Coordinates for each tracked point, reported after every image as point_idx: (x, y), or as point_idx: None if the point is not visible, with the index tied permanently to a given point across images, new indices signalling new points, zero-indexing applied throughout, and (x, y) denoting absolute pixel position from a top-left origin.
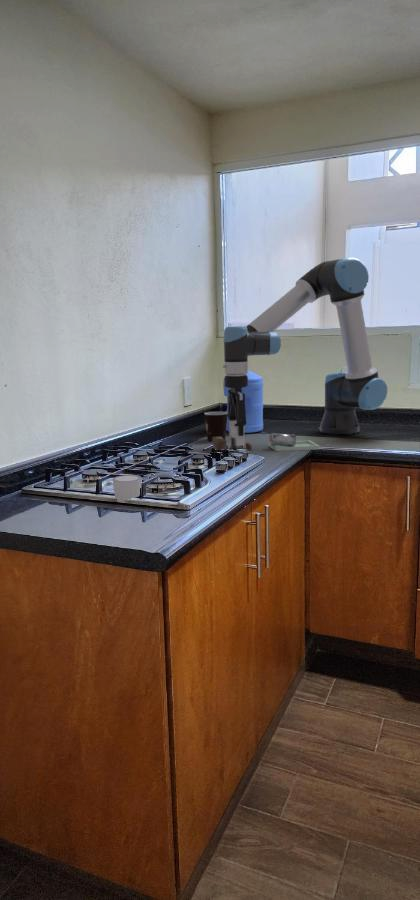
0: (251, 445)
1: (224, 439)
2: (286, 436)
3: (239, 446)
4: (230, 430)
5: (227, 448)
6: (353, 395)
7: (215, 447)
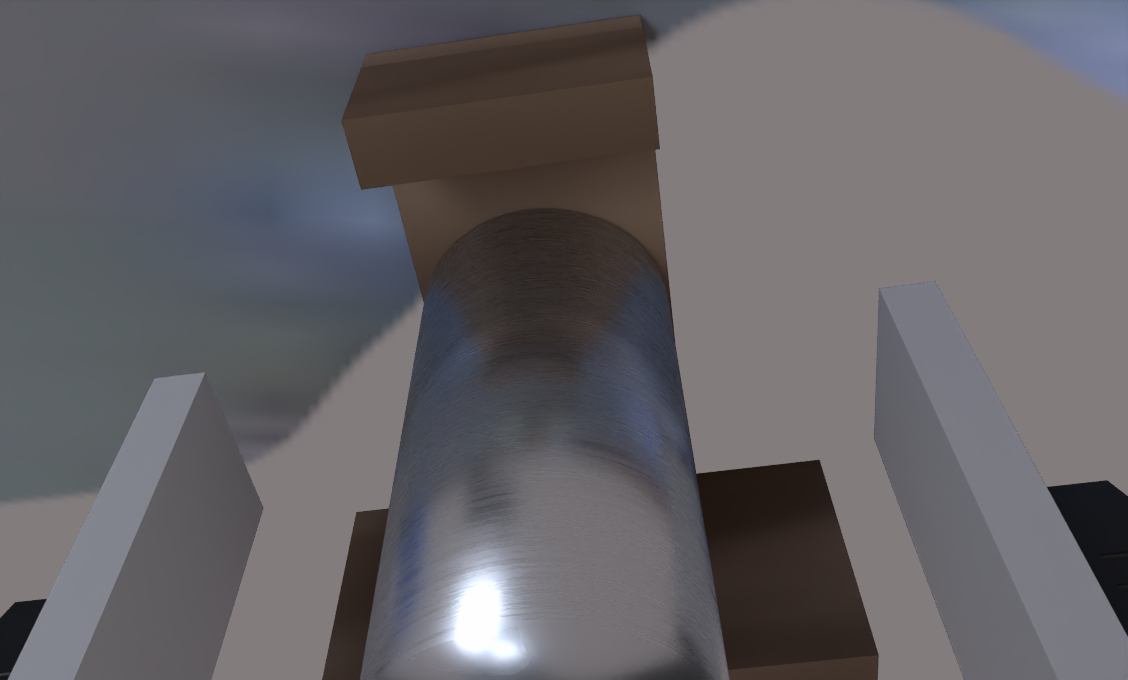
0: (648, 71)
1: None
2: None
3: (670, 325)
4: (206, 674)
5: None
6: None
7: None
